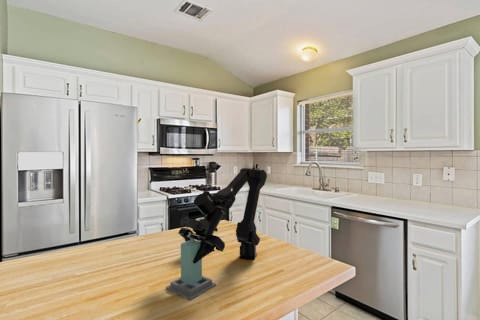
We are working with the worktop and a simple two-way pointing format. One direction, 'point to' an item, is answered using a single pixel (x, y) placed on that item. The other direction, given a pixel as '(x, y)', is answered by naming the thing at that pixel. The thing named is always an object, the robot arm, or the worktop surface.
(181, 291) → the socket holder
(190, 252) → the teal block
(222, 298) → the worktop surface
